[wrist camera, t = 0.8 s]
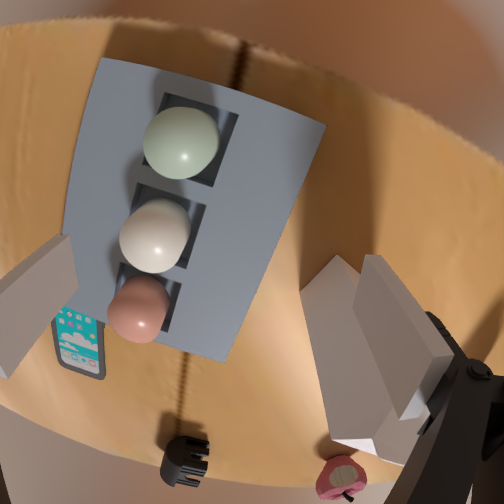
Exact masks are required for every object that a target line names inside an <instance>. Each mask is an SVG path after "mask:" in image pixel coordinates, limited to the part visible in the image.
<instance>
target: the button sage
mask: <svg viewBox="0 0 504 504" xmlns="http://www.w3.org/2000/svg"><path fill="white" fill-rule="evenodd" d="M220 141H221V136H220V130H219V127H218V125H217V123H216V121H215V120H214V119H213V118H212V117H211V116H210V115H209V114H208V113H206V112H204V111H202V110H199V109H195V108H187V107H173V108H169V109H166V110H164V111H162V112H160V113H159V114H157V115H156V116H155V117H154V118H153V119H152V120H151V121H150V123H149V124H148V126H147V128H146V130H145V133H144V137H143V150H144V154H145V157H146V159H147V161H148V163H149V164H150V166H151V167H152V168H153V169H154V170H155V171H156V172H158V173H159V174H161V175H162V176H165V177H167V178H171V179H186V178H189V177H192V176H194V175H196V174H198V173H199V172H201V171H202V170H203V169H204V168H205V167H206V166H207V165H208V164H209V163H210V162H211V160H212V159H213V158H214V157H215V155H216V154H217V152H218V150H219V146H220Z"/></svg>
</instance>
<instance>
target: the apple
mask: <svg viewBox="0 0 504 504" xmlns="http://www.w3.org/2000/svg"><path fill="white" fill-rule="evenodd" d="M366 483H367V477H366V473H365V471H364V469H363V468H362V467H361V466H360V465H359V464H357V463H356V462H355V461H354V460H353V459H351V458H350V457H348V456H346V455H339V456H335V457H334V458H331V459H329V460H328V461H327V463H326V464H325V466H324V468H323V470H322V472H321V474H320V475H319V477H318V479H317V481H316V491H317V494H318V496H319V497H320V499H323V500H337V499H340V498H344V497H345V498H346V499H347V500H348V501H349V502H352V501H353V500H354V498H353V497H351V495H353V494H355V493H357V492H359V491H361V490H363V489H364V487H365V486H366Z"/></svg>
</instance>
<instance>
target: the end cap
mask: <svg viewBox="0 0 504 504" xmlns="http://www.w3.org/2000/svg"><path fill="white" fill-rule="evenodd" d="M208 447H209V442H208V441H205V440H201V439H196V438H192V437H188V436H182V437H179V438H175V439H172V440H171V441H170V442H168V444H167V445H166V448H165V452H164V456H163V460H162V464H161V468H160V475H161V478H162V479H163V481H164V482H165V483H167V484H168V485H170V486H172V487H174V486H175V484H176V483H178V484H183V485H187V486H192V487H198V486H199V484H200V481H198V480H195V479H191V478H187V477H186V475H195V476H200V477H204V475H205V473H206V471H207V466H208V462H207V461H202V459H203V457H204V456H205V457H206V456H209V448H208Z"/></svg>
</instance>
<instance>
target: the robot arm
mask: <svg viewBox="0 0 504 504" xmlns="http://www.w3.org/2000/svg"><path fill="white" fill-rule="evenodd" d="M78 288H79V285H78V280H77V274H76V269H75V263H74V257H73V251H72V244H71V237H70V235H61V234H57V235H56V236H54V237H53V238H52V239H50V240H49V241H48V242H46V243H45V244H44V245H42V246H41V247H40V248H39V249H37V250H36V251H35V252H33V253H32V254H31V255H30V256H28V257H27V258H26V259H25V260H23V261H22V262H21V263H20V264H19V265H17V266H16V267H15V268H14V269H13V270H11V271H10V272H9V273H8V274H7V275H5V276H4V277H3V278H2V279H1V280H0V377H2V378H5V379H9V378H10V376H11V375H12V373H13V372H14V371H15V369H16V368H17V366H18V365H19V363H20V362H21V361H22V359H23V358H24V357H25V355H26V354H27V352H28V351H29V350H30V348H31V347H32V346H33V344H34V343H35V342H36V340H37V339H38V338H39V337H40V335H41V334H42V333H43V331H44V330H45V329H46V328H47V326H48V325H49V324H50V322H51V321H52V320H53V319H54V317H55V316H56V315H57V314H58V312H59V311H60V310H61V309H62V308H63V306H64V305H65V304H66V303H67V301H68V300H69V299H70V298H71V297H72V296H73V294H74V293H75V292H76V291H77V290H78ZM352 309H353V311H354V314H355V316H356V318H357V320H358V322H359V325H360V327H361V329H362V331H363V334H364V336H365V338H366V341H367V343H368V345H369V348H370V350H371V352H372V355H373V357H374V359H375V362H376V364H377V366H378V369H379V371H380V374H381V376H382V379H383V381H384V384H385V386H386V388H387V391H388V393H389V396H390V399H391V401H392V404H393V406H394V409H395V411H396V414H397V417H398V419H399V420H405V419H411V418H417V417H419V416H420V414H421V413H422V411H423V410H424V408H425V406H427V408H428V410H429V412H430V415H429V416H428V418H427V419H426V421H425V422H424V424H423V425H422V427H421V428H420V430H419V431H418V432H417V434H418V435H419V437H418V439H417V442H416V444H415V446H414V448H413V450H412V452H411V454H410V456H409V458H408V460H407V462H406V464H405V466H404V468H403V470H402V472H401V474H400V476H399V478H398V479H397V481H396V483H395V485H394V487H393V489H392V490H391V492H390V494H389V496H388V497H387V499H386V500H385V502H384V504H466V501H467V498H468V495H469V492H470V489H471V486H472V483H473V486H472V498H471V504H504V376H498V375H493V373H492V371H491V369H490V368H489V367H488V366H487V365H486V364H484V363H483V362H481V361H479V360H475V359H468V358H467V357H466V355H465V354H464V353H463V351H462V350H461V348H460V347H459V345H458V344H457V343H456V341H455V340H454V338H453V337H451V334H450V333H449V332H448V330H446V327H445V326H444V325H443V323H442V322H441V321H440V319H438V318H437V317H436V316H435V315H433V314H432V313H431V312H429V311H428V312H424V310H423V309H422V308H421V306H420V305H419V304H418V302H417V301H416V300H415V298H414V297H413V296H412V294H411V293H410V292H409V290H408V289H407V288H406V286H405V285H404V284H403V283H402V281H401V280H400V279H399V277H398V276H397V275H396V274H395V272H394V271H393V270H392V269H391V267H390V266H389V265H388V263H387V262H386V261H385V260H384V259H383V257H382V256H381V255H370V254H365V257H364V261H363V266H362V270H361V274H360V279H359V283H358V287H357V291H356V295H355V299H354V302H353V306H352ZM0 504H11V501H10V498H9V495H8V491H7V488H6V484H5V481H4V477H3V473H2V469H1V465H0Z"/></svg>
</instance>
